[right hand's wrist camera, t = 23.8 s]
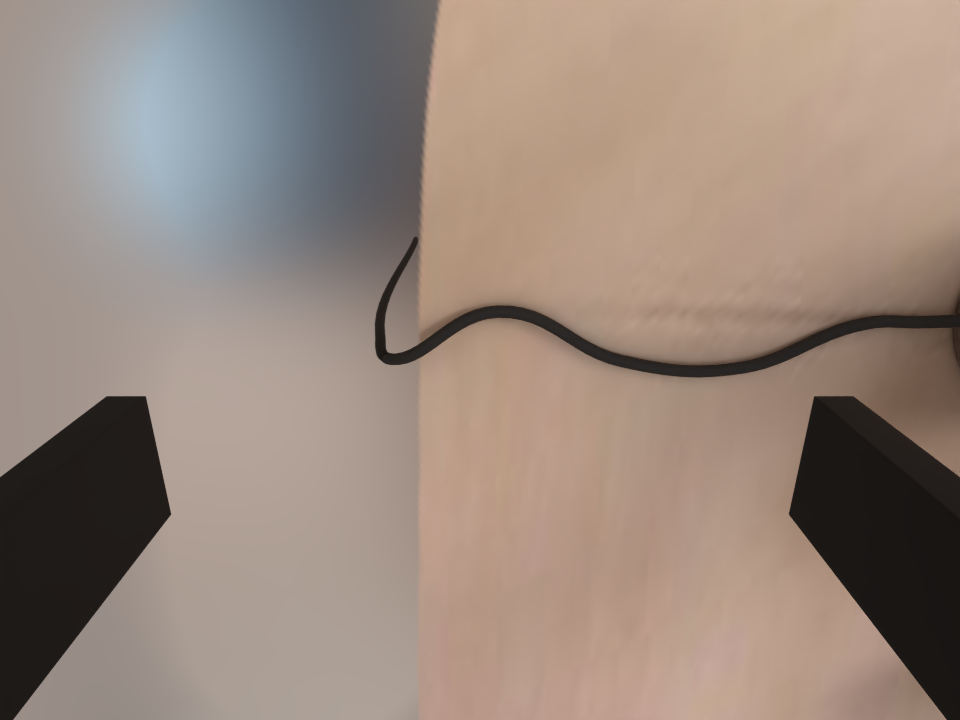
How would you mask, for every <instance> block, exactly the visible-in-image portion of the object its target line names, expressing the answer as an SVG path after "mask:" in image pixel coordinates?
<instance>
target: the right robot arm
mask: <svg viewBox="0 0 960 720" xmlns="http://www.w3.org/2000/svg"><path fill="white" fill-rule="evenodd" d="M418 241H419V238H418V237H414V238H413V240H412V243H411V245H410V247H409V248H408V250H407V252H406V254H405V255H404V257H403V259H402V260H401V262H400V264H399V265H398V267H397V268H396V270H395V272H394V273H393V275H392V277H391V279H390V281H389V282H388V284H387V286H386V288H385V290H384V292H383V294H382V297H381V299H380V302H379V305H378V308H377V312H376V318H375V350H376V355H377V357H378V358H379V359H380V360H381V361H382V362H383V363H385V364H389V365H401V364H406V363H409V362H412V361H414V360H416V359H418V358H420V357H422V356H424V355H425V354H427V353H428V352H430V351H431V350H433V349H434V348H436V347H437V346H438V345H440V344H441V343H442V342H444V341H445V340H447V339H448V338H449V337H451V336H452V335H454V334H455V333H457V332H458V331H460V330H461V329H463V328H465V327H467V326H469V325H471V324H473V323H476V322H478V321H482V320H486V319H491V318H513V319H519V320H523V321H526V322H530V323H533V324H535V325H537V326H540V327H542V328H544V329H545V330H547V331H549V332H551V333H553V334H554V335H556V336H558V337H559V338H561V339H562V340H564V341H566V342H567V343H569V344H570V345H572V346H574V347H575V348H577V349H578V350H580V351H582V352H584V353H585V354H587V355H589V356H591V357H593V358H596V359H598V360H600V361H603V362H606V363H608V364H612V365H615V366H619V367H623V368H628V369H633V370H638V371H643V372H648V373H654V374H661V375H669V376H679V377H716V376H727V375H736V374H743V373H748V372H754V371H758V370H761V369H765V368H768V367H771V366H774V365H777V364H779V363H782V362H784V361H787V360H789V359H791V358H793V357H796V356H798V355H800V354H802V353H804V352H806V351H808V350H810V349H812V348H815V347H817V346H819V345H821V344H823V343H826V342H828V341H830V340H833V339H835V338H838V337H841V336H844V335H847V334H851V333H854V332H858V331H863V330H867V329H873V328H886V327H891V328H952V327H954V329H953V341H954V349H955V353H956V357H957V361H958V363H959V366H960V300H959V303H958V306H957V310H956V315H941V316H898V315H883V316H872V317H866V318H861V319H857V320H852V321H849V322H845V323H842V324H839V325H836V326H834V327H831V328H828V329H826V330H823V331H821V332H819V333H816V334H814V335H812V336H810V337H808V338H806V339H804V340H802V341H800V342H797V343H795V344H793V345H791V346H789V347H787V348H785V349H782V350H780V351H778V352H775V353H773V354H770V355H767V356H764V357H761V358H757V359H753V360H749V361H743V362H737V363H730V364H720V365H702V366H694V365H676V364H667V363H660V362H653V361H648V360H643V359H638V358H633V357H628V356H623V355H620V354H616V353H612V352H610V351H607V350H605V349H602V348H600V347H598V346H596V345H594V344H592V343H590V342H588V341H586V340H585V339H583V338H581V337H580V336H578V335H577V334H575V333H573V332H572V331H570V330H569V329H567V328H566V327H564V326H562V325H561V324H559V323H557V322H556V321H554V320H552V319H550V318H548V317H547V316H544V315H542V314H540V313H537V312H535V311H532V310H528V309H525V308H520V307H514V306H489V307H484V308H480V309H476V310H473V311H471V312H468V313H466V314H464V315H462V316H460V317H458V318H456V319H455V320H453V321H451V322H450V323H448V324H447V325H445V326H444V327H442V328H441V329H440V330H438V331H437V332H436V333H434V334H433V335H431V336H430V337H429V338H427V339H426V340H424V341H423V342H422V343H420V344H418V345H417V346H415V347H413V348H412V349H410V350H407V351H405V352H402V353H397V354H392V353H389V352H387V349H386V337H385V316H386V311H387V307H388V303H389V300H390V297H391V295H392V293H393V290H394V288H395V286H396V284H397V282H398V280H399V278H400V276H401V274H402V272H403V271H404V269H405V267H406V265H407V263H408V262H409V260H410V258H411V256H412V254H413V252H414V250H415V248H416V246H417V244H418ZM170 515H171V512H170V507H169V502H168V498H167V493H166V488H165V484H164V479H163V474H162V470H161V465H160V461H159V456H158V451H157V447H156V442H155V437H154V433H153V428H152V423H151V419H150V414H149V409H148V405H147V400H146V397H145V396H107V397H105V398H104V399H103V400H101V401H100V402H99V403H97V404H96V405H95V406H93V407H92V408H91V409H89V410H88V411H87V412H86V413H84V414H83V415H82V416H80V417H79V418H78V419H76V420H75V421H74V422H72V423H71V424H70V425H68V426H67V427H66V428H64V429H63V430H62V431H60V432H59V433H58V434H57V435H55V436H54V437H53V438H51V439H50V440H49V441H47V442H46V443H45V444H43V445H42V446H41V447H39V448H38V449H37V450H35V451H34V452H33V453H32V454H30V455H29V456H28V457H26V458H25V459H24V460H22V461H21V462H20V463H18V464H17V465H16V466H14V467H13V468H12V469H10V470H9V471H8V472H7V473H5V474H4V475H3V476H1V477H0V720H13V719H14V718H15V717H16V715H17V714H18V713H19V711H20V710H21V709H22V707H23V706H24V705H25V704H26V702H27V701H28V700H29V698H30V697H31V696H32V694H33V693H34V692H35V691H36V689H37V688H38V687H39V685H40V684H41V683H42V681H43V680H44V679H45V677H46V676H47V675H48V674H49V672H50V671H51V670H52V668H53V667H54V666H55V665H56V663H57V662H58V661H59V659H60V658H61V657H62V655H63V654H64V653H65V651H66V650H67V649H68V648H69V646H70V645H71V644H72V642H73V641H74V640H75V638H76V637H77V636H78V635H79V633H80V632H81V631H82V629H83V628H84V627H85V626H86V624H87V623H88V622H89V620H90V619H91V618H92V616H93V615H94V614H95V613H96V611H97V610H98V609H99V607H100V606H101V605H102V603H103V602H104V601H105V600H106V598H107V597H108V596H109V594H110V593H111V592H112V591H113V589H114V588H115V587H116V585H117V584H118V583H119V581H120V580H121V579H122V577H123V576H124V575H125V574H126V572H127V571H128V570H129V568H130V567H131V566H132V565H133V563H134V562H135V561H136V559H137V558H138V557H139V555H140V554H141V553H142V552H143V550H144V549H145V548H146V546H147V545H148V544H149V542H150V541H151V540H152V539H153V537H154V536H155V535H156V533H157V532H158V531H159V529H160V528H161V527H162V526H163V524H164V523H165V522H166V520H167V519H168V518H169V516H170ZM789 515H790V516H791V518H792V519H793V520H794V522H795V523H796V524H797V526H798V527H799V528H800V529H801V531H802V532H803V533H804V535H805V536H806V537H807V539H808V540H809V541H810V542H811V544H812V545H813V546H814V548H815V549H816V550H817V552H818V553H819V554H820V555H821V557H822V558H823V559H824V561H825V562H826V563H827V565H828V566H829V567H830V568H831V570H832V571H833V572H834V574H835V575H836V576H837V578H838V579H839V580H840V581H841V583H842V584H843V585H844V587H845V588H846V589H847V591H848V592H849V593H850V594H851V596H852V597H853V598H854V600H855V601H856V602H857V604H858V605H859V606H860V607H861V609H862V610H863V611H864V613H865V614H866V615H867V616H868V618H869V619H870V620H871V622H872V623H873V624H874V626H875V627H876V628H877V629H878V631H879V632H880V633H881V635H882V636H883V637H884V639H885V640H886V641H887V642H888V644H889V645H890V646H891V648H892V649H893V650H894V652H895V653H896V654H897V655H898V657H899V658H900V659H901V661H902V662H903V663H904V665H905V666H906V667H907V668H908V670H909V671H910V672H911V674H912V675H913V676H914V678H915V679H916V680H917V681H918V683H919V684H920V685H921V687H922V688H923V689H924V691H925V692H926V693H927V694H928V696H929V697H930V698H931V700H932V701H933V702H934V704H935V705H936V706H937V707H938V709H939V710H940V711H941V713H942V714H943V715H944V717H945V718H946V719H947V720H960V477H959V476H957V475H956V474H955V473H954V472H952V471H951V470H950V469H948V468H947V467H946V466H944V465H943V464H942V463H940V462H939V461H938V460H936V459H935V458H934V457H932V456H931V455H930V454H929V453H927V452H926V451H925V450H923V449H922V448H921V447H919V446H918V445H917V444H915V443H914V442H913V441H911V440H910V439H909V438H907V437H906V436H905V435H903V434H902V433H901V432H900V431H898V430H897V429H896V428H894V427H893V426H892V425H890V424H889V423H888V422H886V421H885V420H884V419H882V418H881V417H880V416H878V415H877V414H876V413H875V412H873V411H872V410H871V409H869V408H868V407H867V406H865V405H864V404H863V403H861V402H860V401H859V400H857V399H856V398H855V397H853V396H814V400H813V405H812V409H811V414H810V419H809V423H808V428H807V433H806V437H805V442H804V447H803V451H802V456H801V461H800V465H799V470H798V474H797V479H796V484H795V488H794V493H793V498H792V502H791V507H790V512H789Z"/></svg>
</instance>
